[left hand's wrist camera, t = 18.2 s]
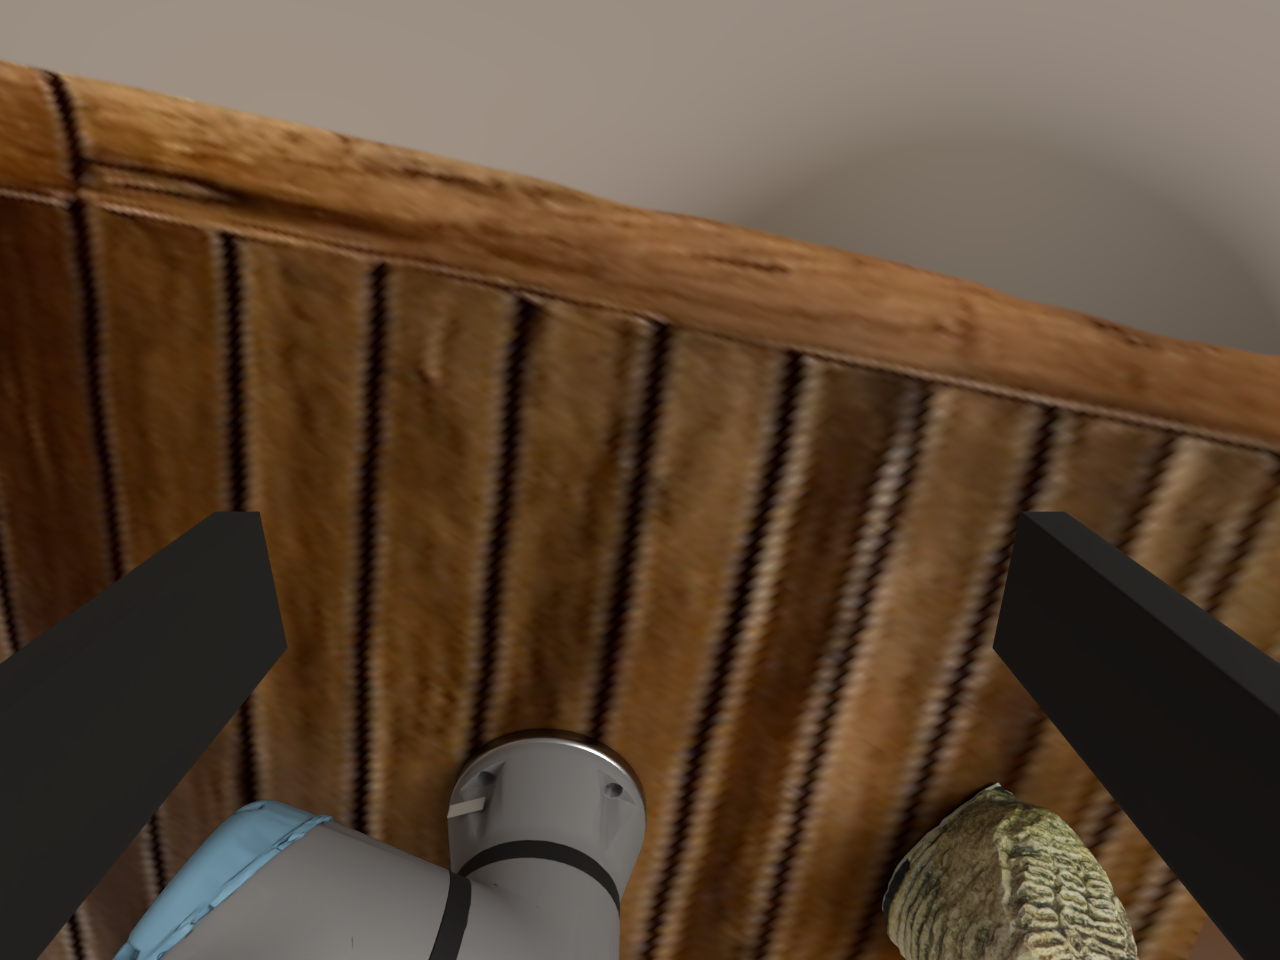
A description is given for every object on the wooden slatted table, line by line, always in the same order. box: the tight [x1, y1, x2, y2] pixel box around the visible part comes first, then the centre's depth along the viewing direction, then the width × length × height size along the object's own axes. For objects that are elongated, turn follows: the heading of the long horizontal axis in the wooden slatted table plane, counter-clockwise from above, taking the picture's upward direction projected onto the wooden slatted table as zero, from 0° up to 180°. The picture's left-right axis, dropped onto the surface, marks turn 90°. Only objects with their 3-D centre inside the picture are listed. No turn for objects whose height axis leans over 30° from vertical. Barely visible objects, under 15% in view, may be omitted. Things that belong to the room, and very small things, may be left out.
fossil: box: [882, 783, 1139, 960], centre depth 51 cm, size 9×18×15 cm, turn 164°
